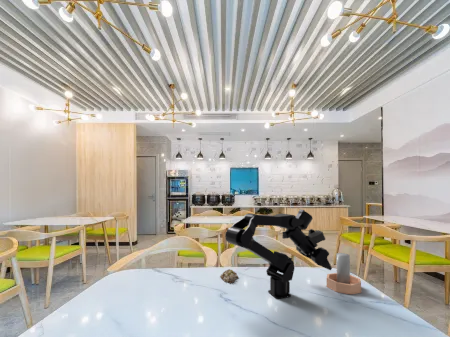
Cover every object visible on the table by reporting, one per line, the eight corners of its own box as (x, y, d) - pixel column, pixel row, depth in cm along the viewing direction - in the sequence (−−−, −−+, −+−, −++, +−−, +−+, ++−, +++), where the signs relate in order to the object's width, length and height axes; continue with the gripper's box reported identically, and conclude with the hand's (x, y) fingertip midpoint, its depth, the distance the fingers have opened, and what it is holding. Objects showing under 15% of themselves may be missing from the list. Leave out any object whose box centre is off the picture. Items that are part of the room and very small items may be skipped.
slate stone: (347, 288, 99) (347, 256, 100) (334, 285, 103) (334, 254, 104) (352, 285, 103) (351, 254, 104) (339, 282, 106) (339, 252, 107)
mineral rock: (219, 269, 116) (235, 264, 117) (221, 278, 116) (238, 274, 116) (219, 279, 106) (237, 273, 106) (221, 289, 105) (240, 284, 106)
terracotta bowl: (343, 295, 95) (343, 286, 95) (320, 283, 107) (320, 274, 107) (368, 291, 99) (368, 282, 99) (343, 279, 111) (343, 271, 111)
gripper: (324, 228, 94) (351, 257, 94) (302, 220, 112) (326, 245, 113) (304, 249, 92) (332, 279, 93) (285, 238, 111) (309, 263, 111)
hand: (325, 265), depth 102 cm, fingers open, 9 cm apart
